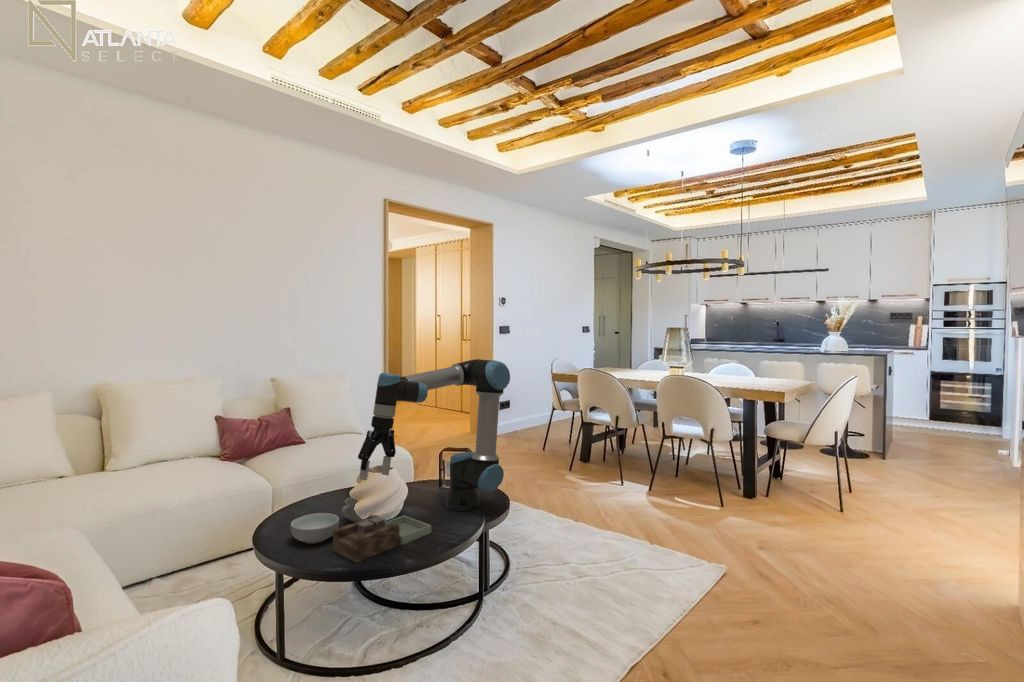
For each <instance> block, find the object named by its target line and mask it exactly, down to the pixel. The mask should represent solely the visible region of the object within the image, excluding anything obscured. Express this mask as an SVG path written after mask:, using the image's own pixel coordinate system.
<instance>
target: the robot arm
mask: <svg viewBox="0 0 1024 682" xmlns="http://www.w3.org/2000/svg"><path fill="white" fill-rule="evenodd" d="M510 373H511V372H510V369H509V368H508V367H507V365H506V363H504V362H501V361H498V360H494V359H493V360H489V359H479V358H475V359H471V360H466V361H462V362H458V363H453V364H452V365H451V366H450V367H449V366H448V367H444V368H438V369H435V370H434V369H433V370H428V371H423V372H418V373H414V374H409V375H404V376H401V375H400V374H397V373H391V372H390V373H389V372H388V373H387V372H381V373H380V374H379V375H378V379H377V383H376V392H375V400H374V405H373V416H372V417H371V424H370V425H371V427H372V428H373V430H367V431H366V436H365V439H364V441H363V443H362V445H361V448H360V451H359V453H358V456H357V458H358V460H361V461H360V468H359V469H360V471H359V476H358V479H359V480H361V481H367V480H368V476H369V469H370V459H371V456H372V454H373V453H374V451H375V450H376V448H377V446H379V445H380V444H381V445H382V448H383V452H384V454H385V455H384V456H383V459H382V467H381V470H380V474H381V475H384V476H390V475H389V474H390V467H391V462H392V458H395V455H396V453H397V452H396V451H397V450H396V444H395V430H394V429H393V427H394V422H395V419H394V417H395V415H396V410H397V409H396V408H397V403H398V402H406V403H407V402H409V403H415V404H418V403H424V402H426V400H427V397H428V393H429V391H431V390H435V389H440V388H444V387H449V386H453V385H454V386H457V387H460V386H473V387H474V386H475V392H476V394H477V395H478V409H477V422H476V423H477V424H476V435H475V436H476V439H475V451H474V452H473V451H466V452H464V451H463V452H458V453H455V454H454V453H453V454H452V455H451V456H450V459H449V490H448V493H447V498H446V500H445V507H446V509H448V510H451V511H455V512H470V511H475V510H477V509H479V508H480V507H481V497H480V495H479V492H478V490H479V491H483V492H487V493H488V492H493V491H495V490H497V489H498V488H499V487H500V485H501V484H502V482H503V479H504V475H505V474H504V472H505V471H504V469H503V467H502V465H500V464H499V463H500V457H499V456H498V454H497V439H498V438H497V437H498V422H499V409H500V397H501V396H503V394H504V391H505V389H506V388H507V387H508V385H509V384H510V382H511V374H510Z"/></svg>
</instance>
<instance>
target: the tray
mask: <svg viewBox="0 0 1024 682" xmlns="http://www.w3.org/2000/svg"><path fill="white" fill-rule="evenodd" d="M393 523H397V524H399V539H400V545H401V546H404V545H406V544H409V543H411V542H413V541H416V540H418V539H420V538H422V537H425V536H428V535H430V534H432V525H431V524H429V523H426V522H423V521H421V520H417V519H415V518H412V517H410V516H407V515H405V514H404V515H401V516H398V517H396V518H392V519H390V520H387V521H385V526H388V525H391V524H393Z"/></svg>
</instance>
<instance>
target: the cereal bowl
mask: <svg viewBox="0 0 1024 682" xmlns="http://www.w3.org/2000/svg"><path fill="white" fill-rule="evenodd" d="M339 526H340V518H339V516H338V515H337V514H335V513H334V514H333V513H328V512H317V513H310V514H305V515H302V516H300V517H297V518H295V519H293V520H292V521H291V522H290V532H291V535H292V537H293V538H294V539H296V540H297V541H300V542H303V543H305V544H312V545H313V544H318V543H323V542H325V541H326V540H327V539H329V538H331V537H333V530H335V529H338V528H339Z"/></svg>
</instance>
